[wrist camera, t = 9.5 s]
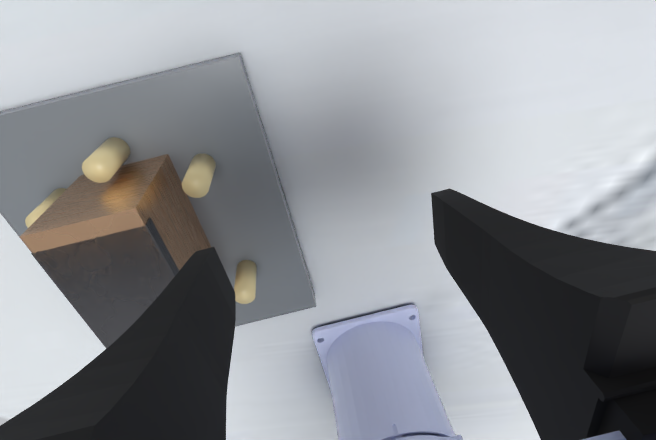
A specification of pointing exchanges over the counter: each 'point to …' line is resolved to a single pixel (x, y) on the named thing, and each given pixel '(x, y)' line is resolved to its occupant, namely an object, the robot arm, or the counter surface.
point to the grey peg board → (188, 160)
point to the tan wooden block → (117, 242)
